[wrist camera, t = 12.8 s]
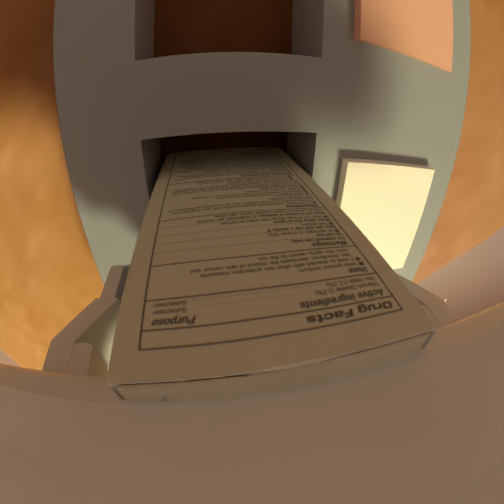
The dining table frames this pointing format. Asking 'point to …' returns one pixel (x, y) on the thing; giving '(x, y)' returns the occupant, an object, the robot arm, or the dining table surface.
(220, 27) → the dining table surface
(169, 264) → the skincare box
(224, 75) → the socket plate
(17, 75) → the dining table surface
